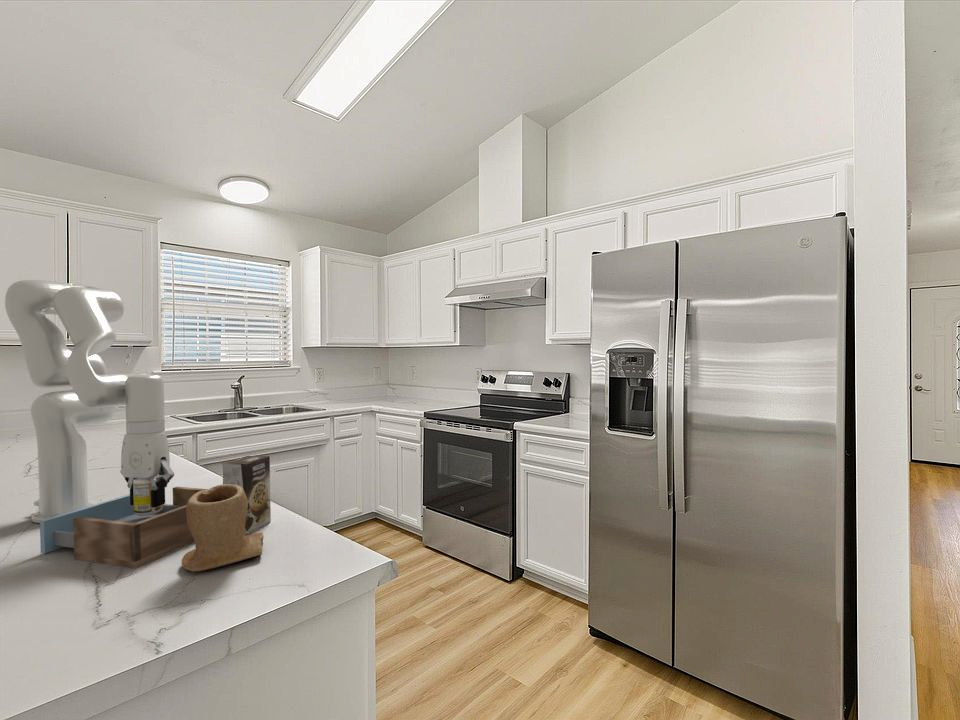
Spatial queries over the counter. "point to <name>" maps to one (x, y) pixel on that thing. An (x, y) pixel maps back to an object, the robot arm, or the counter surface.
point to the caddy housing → (134, 535)
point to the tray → (61, 527)
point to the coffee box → (252, 487)
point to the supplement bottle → (143, 497)
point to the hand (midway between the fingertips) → (147, 503)
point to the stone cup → (219, 528)
